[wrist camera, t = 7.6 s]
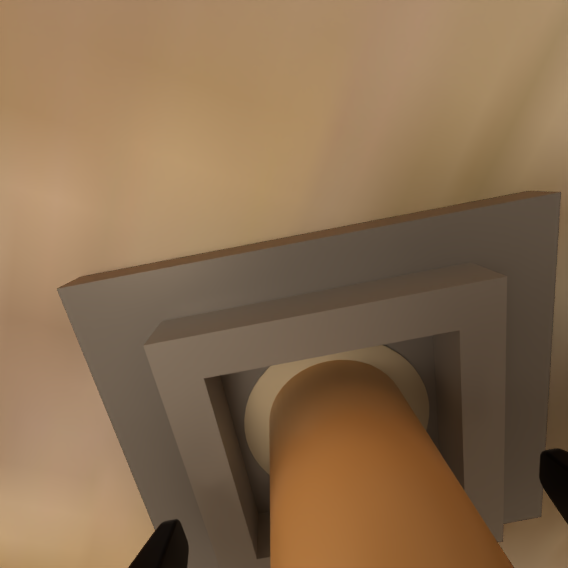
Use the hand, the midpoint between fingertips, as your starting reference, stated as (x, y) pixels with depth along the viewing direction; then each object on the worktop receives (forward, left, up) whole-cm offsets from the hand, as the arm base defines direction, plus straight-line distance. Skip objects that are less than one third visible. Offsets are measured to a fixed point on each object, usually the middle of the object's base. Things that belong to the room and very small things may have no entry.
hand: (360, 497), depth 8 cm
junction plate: (0, 0, -4) cm, 4 cm away
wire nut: (0, 0, -3) cm, 3 cm away
